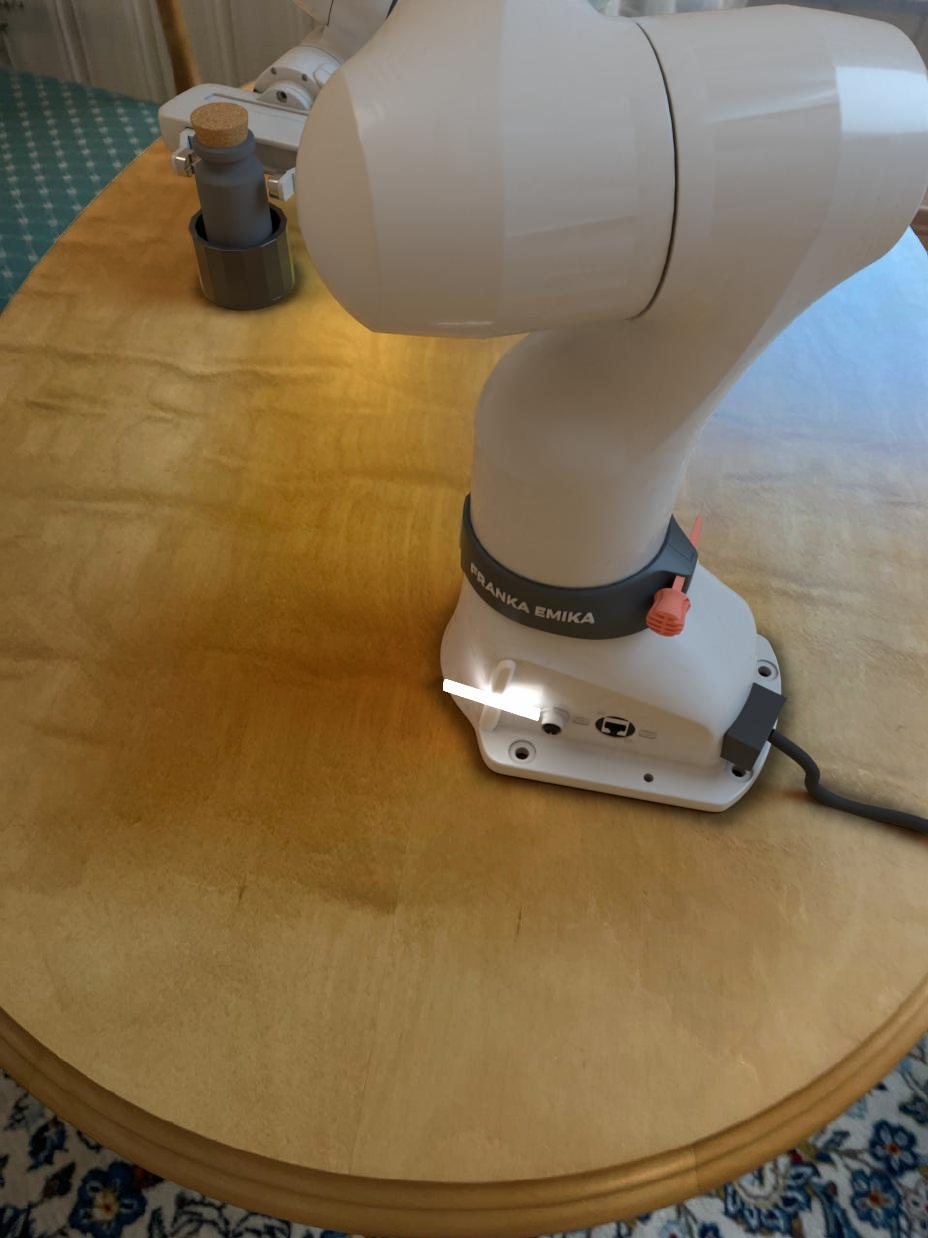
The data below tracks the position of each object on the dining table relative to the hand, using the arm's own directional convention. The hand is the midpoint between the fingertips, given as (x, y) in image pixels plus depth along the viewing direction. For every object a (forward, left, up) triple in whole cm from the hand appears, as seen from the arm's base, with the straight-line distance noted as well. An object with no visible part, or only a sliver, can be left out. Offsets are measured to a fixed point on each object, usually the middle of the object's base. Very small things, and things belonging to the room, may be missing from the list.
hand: (226, 179), depth 83 cm
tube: (0, 0, -10) cm, 10 cm away
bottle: (0, 0, -10) cm, 10 cm away
